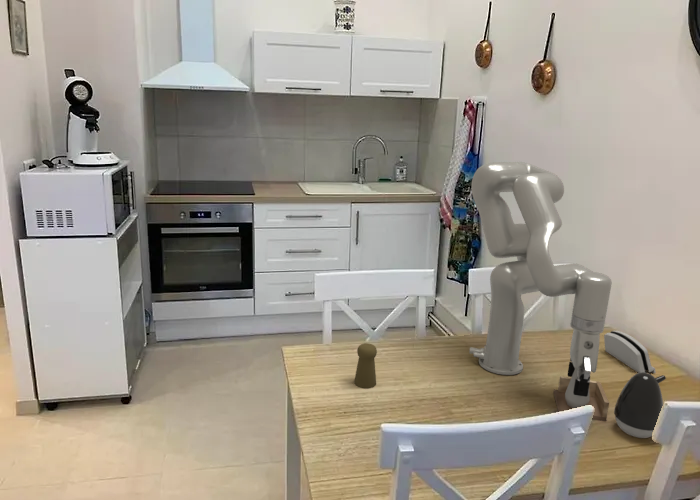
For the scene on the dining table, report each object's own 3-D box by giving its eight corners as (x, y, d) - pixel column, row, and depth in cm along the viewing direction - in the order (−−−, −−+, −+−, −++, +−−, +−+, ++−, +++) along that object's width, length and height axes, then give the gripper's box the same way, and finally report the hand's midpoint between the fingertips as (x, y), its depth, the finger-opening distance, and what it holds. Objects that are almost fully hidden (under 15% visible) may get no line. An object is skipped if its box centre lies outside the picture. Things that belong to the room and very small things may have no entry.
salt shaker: (588, 413, 134) (597, 365, 131) (564, 408, 136) (571, 361, 132) (587, 402, 139) (595, 356, 136) (563, 397, 141) (570, 351, 138)
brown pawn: (379, 380, 147) (382, 343, 145) (371, 390, 142) (373, 352, 139) (359, 375, 150) (361, 338, 147) (350, 385, 144) (352, 347, 142)
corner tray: (558, 413, 135) (561, 395, 134) (553, 392, 146) (556, 375, 144) (605, 421, 133) (609, 402, 132) (597, 399, 143) (600, 381, 142)
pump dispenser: (670, 442, 125) (683, 382, 122) (631, 446, 123) (643, 385, 119) (638, 418, 135) (650, 362, 131) (602, 421, 133) (612, 364, 129)
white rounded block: (656, 373, 159) (652, 344, 156) (642, 379, 159) (638, 350, 156) (618, 349, 175) (613, 322, 172) (605, 354, 175) (600, 328, 171)
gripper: (611, 338, 123) (599, 405, 128) (596, 312, 140) (586, 372, 144) (576, 333, 125) (566, 400, 129) (566, 308, 141) (556, 368, 146)
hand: (576, 385), depth 137 cm, fingers open, 9 cm apart
